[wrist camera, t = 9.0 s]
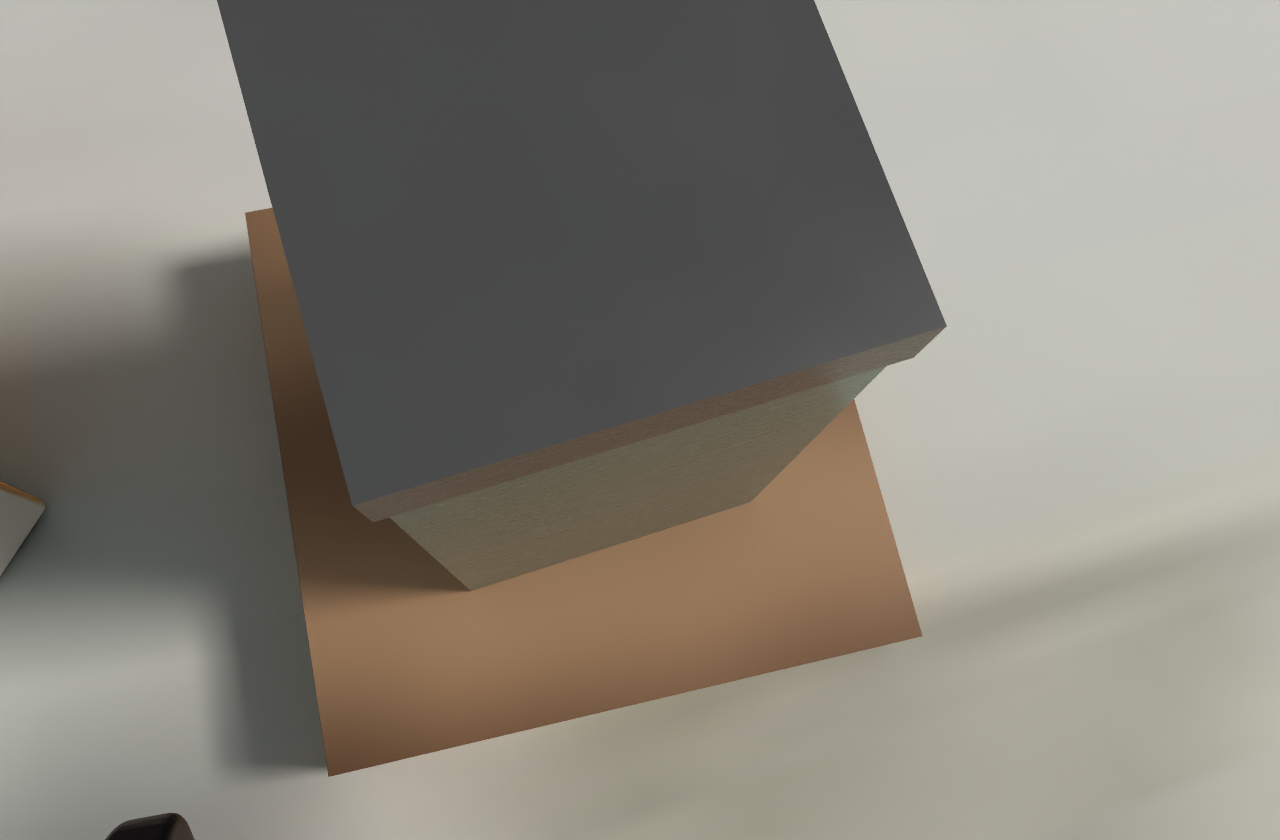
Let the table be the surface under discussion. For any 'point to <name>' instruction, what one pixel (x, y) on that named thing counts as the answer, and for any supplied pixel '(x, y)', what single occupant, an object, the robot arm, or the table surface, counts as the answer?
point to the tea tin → (573, 256)
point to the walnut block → (562, 587)
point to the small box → (16, 520)
